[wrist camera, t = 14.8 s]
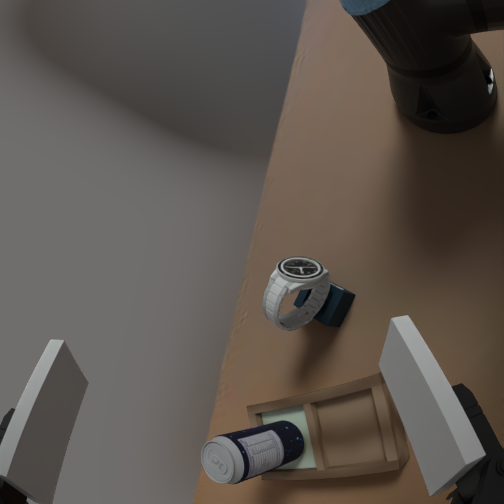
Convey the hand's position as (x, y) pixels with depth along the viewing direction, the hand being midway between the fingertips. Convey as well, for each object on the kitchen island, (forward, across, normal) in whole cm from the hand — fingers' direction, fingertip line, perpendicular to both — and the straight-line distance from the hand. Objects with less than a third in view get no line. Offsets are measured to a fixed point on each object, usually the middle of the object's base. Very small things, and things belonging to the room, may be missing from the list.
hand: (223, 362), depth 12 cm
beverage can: (+11, +5, -28) cm, 31 cm away
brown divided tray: (+11, +9, -27) cm, 30 cm away
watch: (+22, +11, -15) cm, 29 cm away
